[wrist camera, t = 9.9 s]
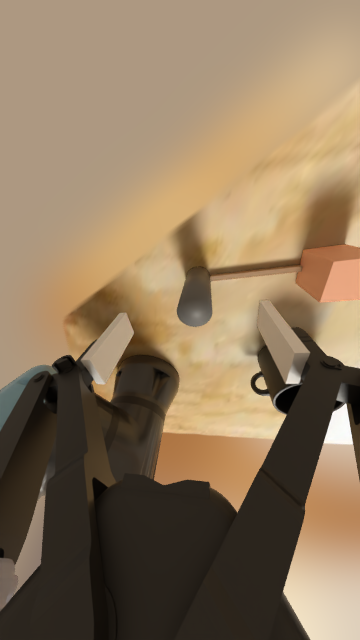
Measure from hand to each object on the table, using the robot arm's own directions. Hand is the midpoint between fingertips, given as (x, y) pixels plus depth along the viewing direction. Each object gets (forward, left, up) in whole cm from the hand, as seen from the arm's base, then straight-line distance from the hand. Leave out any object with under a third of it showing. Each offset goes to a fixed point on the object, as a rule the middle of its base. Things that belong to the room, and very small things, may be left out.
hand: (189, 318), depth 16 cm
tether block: (+9, 0, -11) cm, 14 cm away
